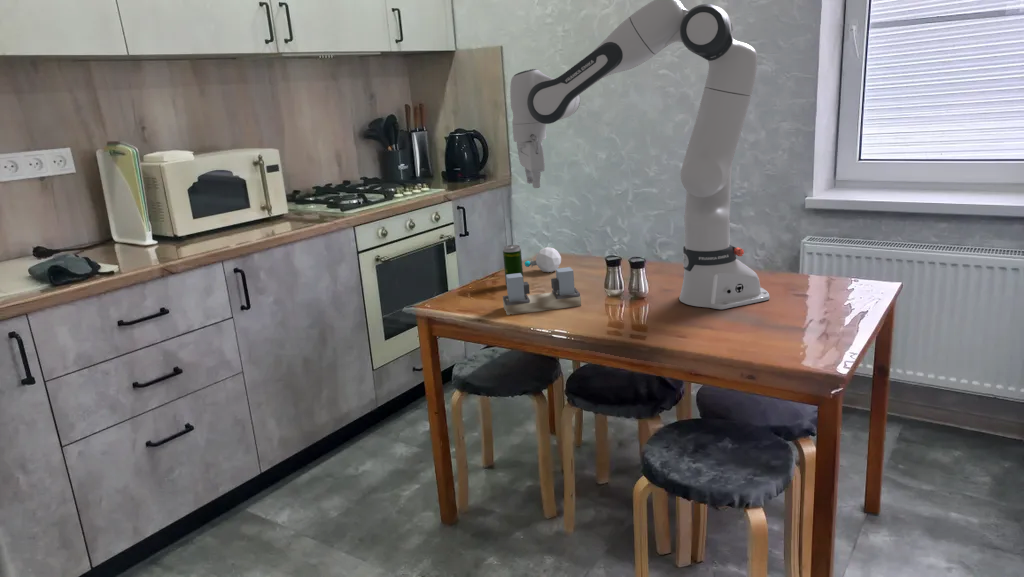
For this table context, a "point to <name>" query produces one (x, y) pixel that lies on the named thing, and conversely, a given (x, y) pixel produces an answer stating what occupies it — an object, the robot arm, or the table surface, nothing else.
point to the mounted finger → (563, 281)
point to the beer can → (512, 260)
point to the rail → (541, 302)
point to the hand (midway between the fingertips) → (533, 185)
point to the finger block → (516, 287)
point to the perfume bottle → (546, 260)
